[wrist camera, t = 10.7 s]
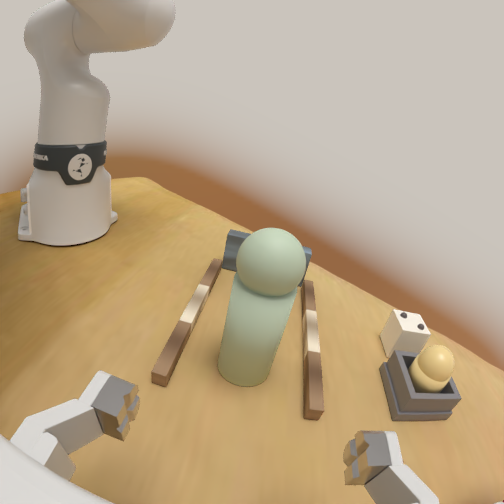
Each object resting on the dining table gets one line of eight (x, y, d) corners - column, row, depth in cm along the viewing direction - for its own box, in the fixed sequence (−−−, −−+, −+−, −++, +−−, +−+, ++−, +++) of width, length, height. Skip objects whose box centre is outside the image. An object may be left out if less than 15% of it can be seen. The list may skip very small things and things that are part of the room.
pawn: (205, 363, 24) (228, 222, 19) (240, 341, 28) (271, 214, 22) (246, 396, 22) (290, 253, 16) (280, 368, 25) (326, 238, 20)
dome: (412, 396, 21) (436, 364, 19) (401, 364, 25) (421, 332, 23) (445, 397, 21) (469, 366, 19) (433, 367, 25) (453, 337, 23)
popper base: (392, 420, 21) (409, 400, 19) (379, 368, 27) (391, 348, 26) (446, 419, 20) (463, 400, 19) (428, 373, 27) (442, 354, 26)
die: (386, 357, 29) (404, 326, 27) (379, 335, 32) (394, 306, 31) (414, 360, 29) (432, 331, 27) (405, 339, 32) (421, 311, 31)
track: (317, 420, 20) (342, 382, 18) (152, 382, 21) (150, 338, 19) (309, 281, 42) (319, 250, 40) (216, 259, 42) (222, 227, 40)
